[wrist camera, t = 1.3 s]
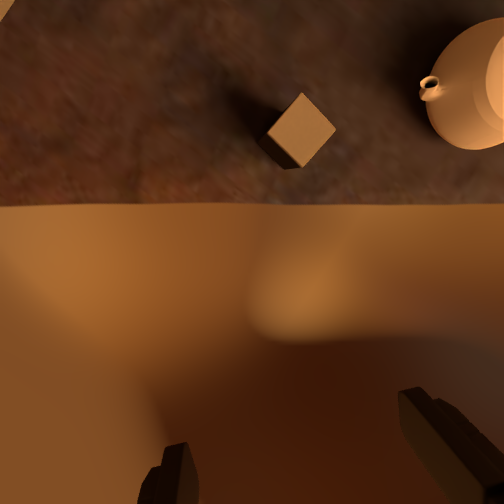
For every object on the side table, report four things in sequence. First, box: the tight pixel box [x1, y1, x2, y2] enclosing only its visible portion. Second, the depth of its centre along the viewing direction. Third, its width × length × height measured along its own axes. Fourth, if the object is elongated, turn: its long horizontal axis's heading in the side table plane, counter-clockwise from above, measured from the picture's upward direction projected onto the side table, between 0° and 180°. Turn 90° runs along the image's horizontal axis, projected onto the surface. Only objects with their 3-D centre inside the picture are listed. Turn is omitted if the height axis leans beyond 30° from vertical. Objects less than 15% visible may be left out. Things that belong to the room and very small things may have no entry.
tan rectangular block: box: [257, 93, 336, 170], centre depth 30 cm, size 4×4×8 cm
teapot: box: [419, 17, 504, 150], centre depth 30 cm, size 20×12×10 cm, turn 96°
